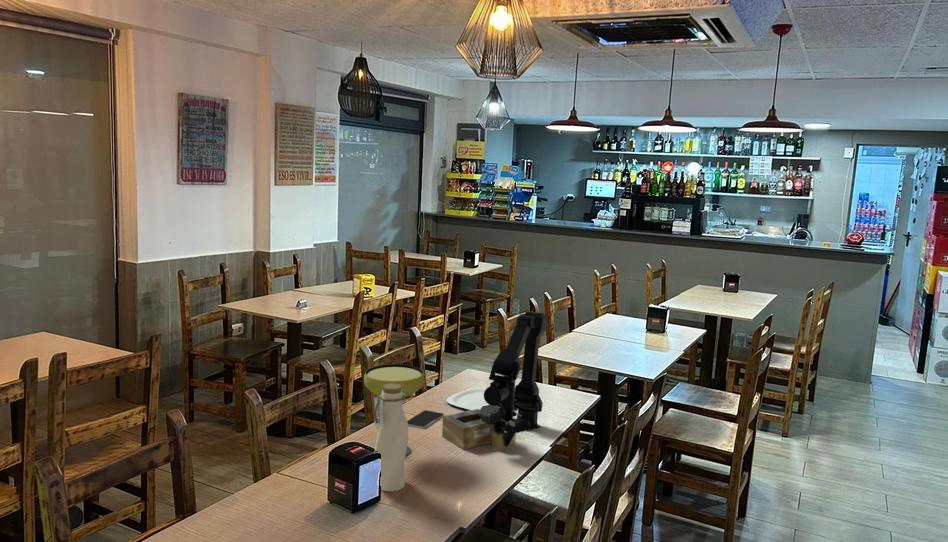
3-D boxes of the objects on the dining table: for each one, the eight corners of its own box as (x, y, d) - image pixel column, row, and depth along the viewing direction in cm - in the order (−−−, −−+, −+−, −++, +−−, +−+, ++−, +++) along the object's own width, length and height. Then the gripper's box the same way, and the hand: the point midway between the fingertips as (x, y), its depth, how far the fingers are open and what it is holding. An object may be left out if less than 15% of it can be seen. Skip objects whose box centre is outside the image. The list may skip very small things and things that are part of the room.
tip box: (477, 428, 227) (477, 408, 226) (499, 440, 217) (499, 419, 216) (442, 436, 219) (442, 416, 218) (463, 449, 209) (463, 428, 208)
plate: (438, 405, 251) (438, 400, 250) (476, 388, 271) (477, 384, 271) (495, 420, 236) (495, 416, 236) (531, 402, 257) (531, 397, 257)
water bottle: (390, 498, 177) (391, 395, 173) (364, 488, 182) (365, 388, 178) (414, 483, 186) (415, 385, 182) (388, 475, 190) (389, 379, 186)
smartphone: (444, 413, 239) (424, 427, 225) (444, 416, 239) (424, 430, 225) (424, 409, 242) (403, 422, 228) (424, 413, 242) (403, 426, 229)
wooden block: (509, 443, 216) (510, 428, 215) (515, 446, 213) (515, 431, 212) (491, 448, 212) (492, 432, 211) (497, 451, 209) (498, 436, 208)
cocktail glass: (416, 437, 218) (418, 362, 214) (428, 460, 201) (430, 379, 197) (360, 442, 213) (360, 365, 209) (367, 466, 196) (368, 383, 192)
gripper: (467, 392, 213) (465, 439, 215) (503, 409, 198) (501, 460, 200) (495, 386, 219) (493, 432, 221) (532, 403, 204) (530, 452, 206)
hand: (503, 444), depth 212 cm, fingers closed on wooden block, 3 cm apart
